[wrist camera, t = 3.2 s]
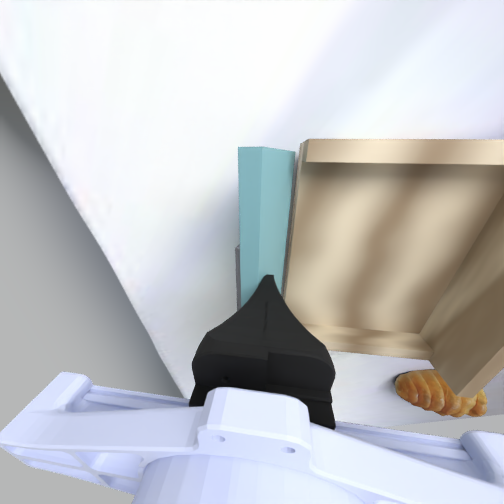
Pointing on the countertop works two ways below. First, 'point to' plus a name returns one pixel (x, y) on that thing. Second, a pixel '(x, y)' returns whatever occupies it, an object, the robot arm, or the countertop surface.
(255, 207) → the panel
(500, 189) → the tray
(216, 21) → the countertop surface
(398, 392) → the pastry
